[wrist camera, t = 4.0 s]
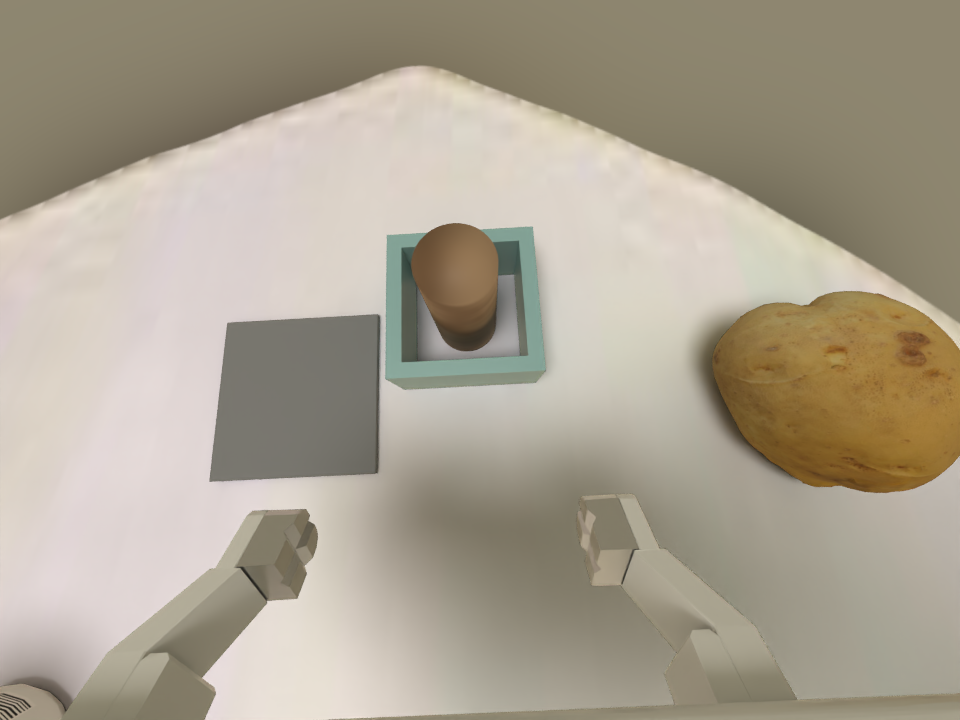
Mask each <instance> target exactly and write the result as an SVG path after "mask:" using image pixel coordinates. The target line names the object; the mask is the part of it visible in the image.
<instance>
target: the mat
mask: <svg viewBox="0 0 960 720" xmlns="http://www.w3.org/2000/svg"><path fill="white" fill-rule="evenodd" d="M379 319H380V317H379V315H378V314H377V315H359V316H341V317H323V318H305V319H288V320H270V321H252V322H234V323H227V331H226V339H225V348H224V357H223V366H222V375H221V384H220V392H219V401H218V410H217V419H216V428H215V437H214V445H213V454H212V463H211V472H210V481H209V482H212V481H233V480H253V479H274V478H295V477H315V476H336V475H356V474H375V473H377V458H378V388H379Z"/></svg>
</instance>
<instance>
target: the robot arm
mask: <svg viewBox="0 0 960 720" xmlns="http://www.w3.org/2000/svg"><path fill="white" fill-rule="evenodd" d="M579 506H580V509H581V510H580V511H579V512H578V513H577V519H576V522H577V533H578V538H579V542H580V546H581V547H582V548H583V549H584V550H585V551H586V557H585V564H586V568H587V572H588V575H589V579H590V583H591V586H607V585H622V588H623V589H624V591H625V592H626V593H627V594H628V595H629V596H630V598H631V599H632V600H633V601H634V602H635V604H636V605H637V606H638V607H639V608H640V610H641V611H642V612H643V613H644V614H645V616H646V617H647V618H648V619H649V620H650V622H651V623H652V624H653V625H654V626H655V628H656V629H657V630H658V631H659V632H660V633H661V635H662V636H663V637H664V638H665V639H666V641H667V642H668V643H669V644H670V645H671V647H672V648H673V649H674V650H675V651H676V653H677V654H676V656H675V657H674V659H673V660H672V662H671V663H670V665H669V666H668V668H667V670H666V672H665V674H664V675H665V678H666V681H667V683H668V686H669V689H670V692H671V695H672V698H673V701H674V704H675V705H664V706H640V707H616V708H592V709H569V710H545V711H521V712H497V713H473V714H449V715H425V716H402V717H378V718H354V719H330V720H960V693H958V694H926V695H903V696H879V697H855V698H831V699H807V700H797V698H796V696H795V694H794V693H793V691H792V689H791V688H790V686H789V684H788V682H787V681H786V679H785V677H784V675H783V674H782V672H781V670H780V669H779V667H778V665H777V663H776V662H775V660H774V658H773V656H772V655H771V653H770V651H769V649H768V648H767V646H766V644H765V643H764V641H763V639H762V637H761V636H760V634H759V632H758V630H757V629H756V627H755V626H754V625H753V624H752V623H751V622H750V621H749V620H747V619H746V618H745V617H744V616H743V615H742V614H740V613H739V612H738V611H737V610H736V609H735V608H734V607H732V606H731V605H730V604H729V603H728V602H727V601H725V600H724V599H723V598H722V597H721V596H720V595H718V594H717V593H716V592H715V591H714V590H713V589H712V588H710V587H709V586H708V585H707V584H706V583H705V582H703V581H702V580H701V579H700V578H699V577H698V576H696V575H695V574H694V573H693V572H692V571H691V570H690V569H688V568H687V567H686V566H685V565H684V564H683V563H681V562H680V561H679V560H678V559H677V558H676V557H674V556H673V555H672V554H671V553H670V552H669V551H668V550H666V549H660V548H659V545H658V543H657V541H656V539H655V537H654V535H653V532H652V530H651V528H650V526H649V524H648V522H647V520H646V517H645V515H644V513H643V511H642V509H641V507H640V504H639V502H638V500H637V498H636V497H635V496H634V495H633V494H616V495H614V494H607V495H591V496H581V497H580V500H579ZM309 517H310V515H309V513H308V511H307V510H306V509H295V510H262V511H252V512H251V513H250V514H249V515H247V517H246V518H245V520H244V521H243V523H242V525H241V526H240V528H239V530H238V531H237V533H236V535H235V536H234V538H233V540H232V541H231V543H230V545H229V546H228V548H227V550H226V551H225V553H224V555H223V556H222V558H221V560H220V561H219V563H218V565H217V567H216V568H215V569H209V570H208V571H207V572H206V573H204V574H203V575H202V576H201V577H200V578H198V579H197V580H196V581H195V582H193V583H192V584H191V585H190V586H189V587H187V588H186V589H185V590H184V591H182V592H181V593H180V594H179V595H178V596H176V597H175V598H174V599H173V600H171V601H170V602H169V603H168V604H167V605H165V606H164V607H163V608H162V609H161V610H159V611H158V612H157V613H156V614H154V615H153V616H152V617H151V618H150V619H148V620H147V621H146V622H145V623H143V624H142V625H141V626H140V627H139V628H137V629H136V630H135V631H134V632H132V633H131V634H130V635H129V636H128V637H126V638H125V639H124V640H123V641H121V642H120V643H119V644H118V645H117V646H115V647H114V648H113V649H112V650H110V651H109V652H108V653H107V654H106V656H105V657H104V659H103V660H102V661H101V663H100V664H99V666H98V667H97V668H96V670H95V671H94V673H93V674H92V676H91V677H90V678H89V680H88V681H87V683H86V684H85V685H84V687H83V688H82V690H81V691H80V692H79V694H78V695H77V697H76V698H75V700H74V701H73V702H72V704H71V705H70V707H69V708H68V709H67V711H66V712H65V714H64V715H63V716H62V718H61V719H60V720H204V719H205V717H206V715H207V713H208V710H209V708H210V706H211V704H212V701H213V699H214V697H215V695H216V692H215V688H214V687H213V686H212V685H210V684H209V683H208V682H206V681H205V680H204V679H202V677H203V676H204V675H205V674H206V673H207V671H208V670H209V669H210V668H211V667H212V666H213V664H214V663H215V662H216V661H217V660H218V659H219V658H220V656H221V655H222V654H223V653H224V652H225V651H226V650H227V648H228V647H229V646H230V645H231V644H232V643H233V642H234V640H235V639H236V638H237V637H238V636H239V635H240V634H241V632H242V631H243V630H244V629H245V628H246V627H247V626H248V624H249V623H250V622H251V621H252V620H253V619H254V618H255V616H256V615H257V614H258V613H259V612H260V611H261V610H262V608H263V607H264V606H265V605H266V604H267V601H272V600H286V599H297V598H298V596H299V593H300V591H301V588H302V585H303V583H304V580H305V577H306V575H307V572H306V569H305V565H306V564H307V563H308V562H309V561H310V560H311V559H312V558H313V556H314V553H315V550H316V548H317V541H318V533H317V529H316V526H315V525H314V524H313V523H311V522H309V521H308V520H309Z"/></svg>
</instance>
